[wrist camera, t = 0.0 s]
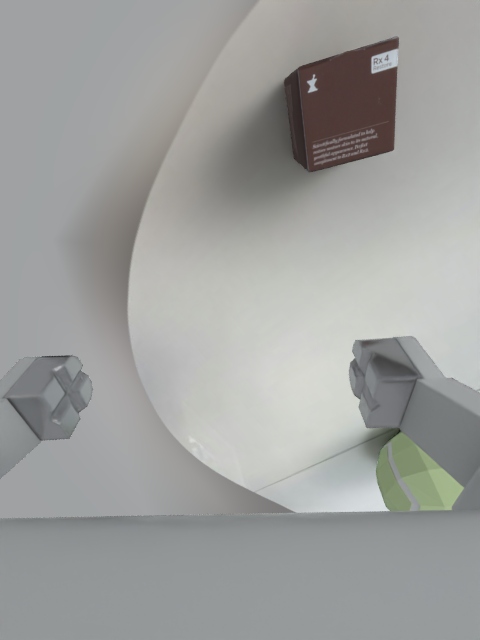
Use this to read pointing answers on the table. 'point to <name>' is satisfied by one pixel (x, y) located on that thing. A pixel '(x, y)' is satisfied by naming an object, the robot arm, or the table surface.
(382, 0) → the table surface
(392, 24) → the table surface
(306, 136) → the box
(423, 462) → the green ball
